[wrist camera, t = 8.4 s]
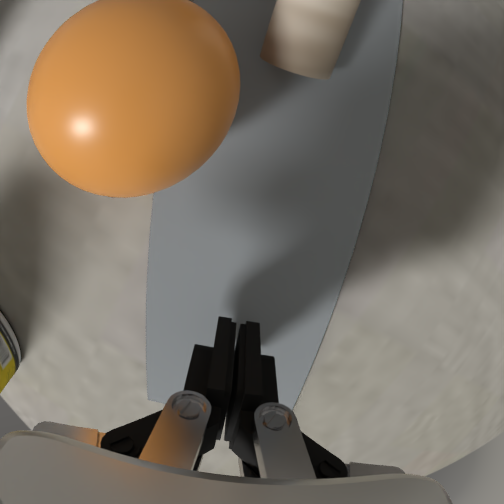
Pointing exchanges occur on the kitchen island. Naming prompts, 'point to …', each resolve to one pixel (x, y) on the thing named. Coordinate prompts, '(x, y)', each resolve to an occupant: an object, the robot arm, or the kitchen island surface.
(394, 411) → the kitchen island surface
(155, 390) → the plate
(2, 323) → the pill bottle
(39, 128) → the ball
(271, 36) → the pin
